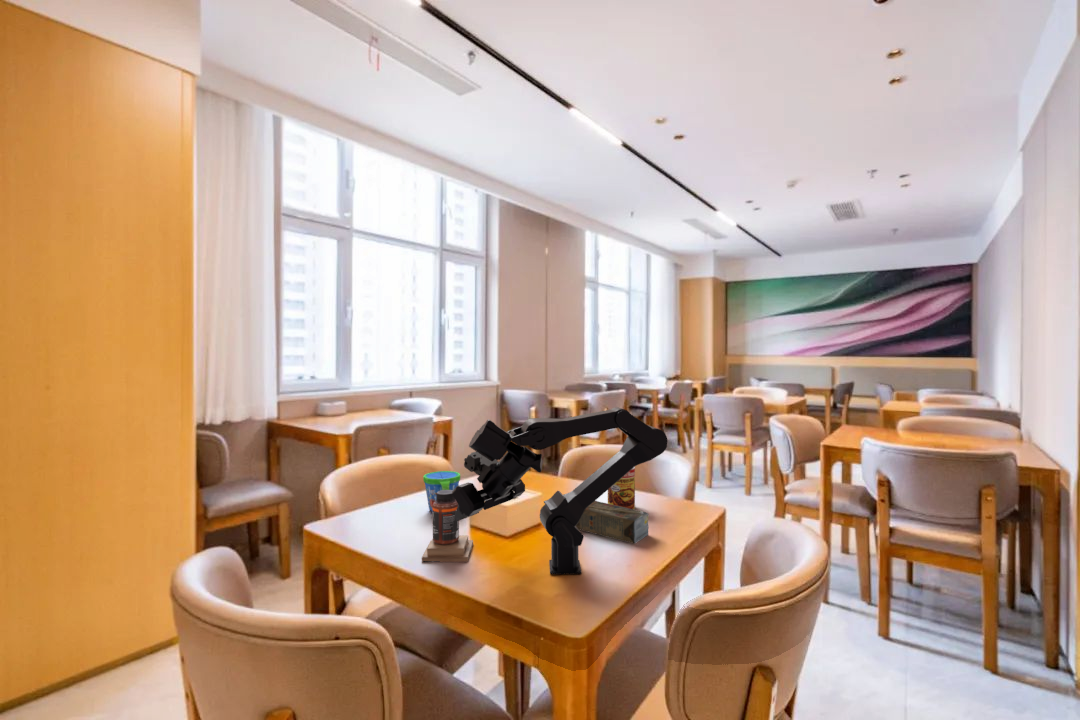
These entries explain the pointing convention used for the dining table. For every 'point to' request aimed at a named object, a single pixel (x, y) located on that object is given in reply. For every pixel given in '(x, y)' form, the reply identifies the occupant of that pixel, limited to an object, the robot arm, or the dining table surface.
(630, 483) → the canned food
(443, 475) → the snack cup
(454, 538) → the supplement bottle
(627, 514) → the beverage carton
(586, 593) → the dining table surface
